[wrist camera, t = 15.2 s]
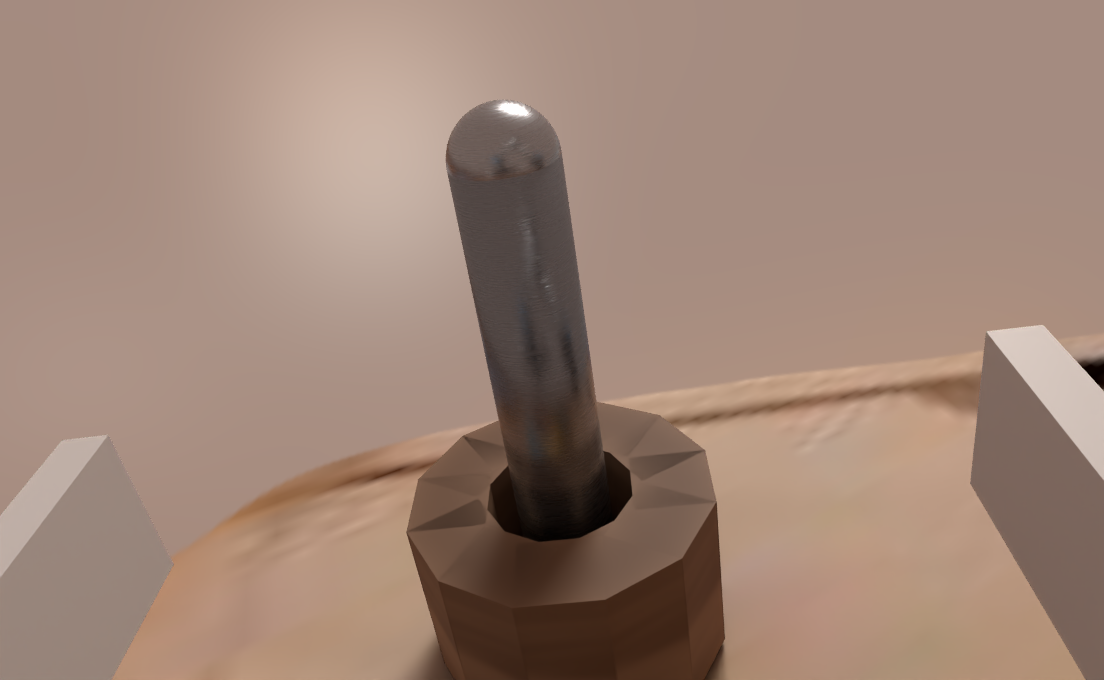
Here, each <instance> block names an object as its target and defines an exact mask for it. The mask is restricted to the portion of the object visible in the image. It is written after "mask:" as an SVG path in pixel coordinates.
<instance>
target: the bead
mask: <svg viewBox="0 0 1104 680" xmlns="http://www.w3.org/2000/svg"><path fill="white" fill-rule="evenodd" d="M597 409H598V417H599V424H600V431H601V438H602V445H603V452H604V460H605V467H606V474H607V481H608V488H609V495H610V503H611V510H612V517H613V522H611V523H609V524H607V525H605V526H603V527H601V528H599V529H597V530H595V531H593V532H591V533H589V534H587V535H585V536H583V537H581V538H576V539H566V540H555V541H544V542H537V541H534V540H530V539H527V538H524V537H523V534H522V529H521V525H520V520H519V515H518V510H517V505H516V500H515V496H514V491H513V486H512V481H511V476H510V472H509V467H508V462H507V457H506V452H505V447H504V443H503V438H502V433H501V428H500V423H499V421H496V422H494V423H492V424H489V425H487V426H485V427H483V428H480V429H478V430H476V431H473V432H471V433H469V434H466V435H464V436H462V437H461V438H460V439H459V440H458V441H457V442H456V443H455V444H454V445H453V446H452V447H451V448H450V449H449V450H448V451H447V452H446V453H445V454H444V455H443V456H442V457H441V458H440V459H439V460H438V461H437V462H436V463H435V464H434V465H433V466H432V467H431V468H430V469H429V470H427V471H426V472H425V473H424V474H423V475H422V476H421V477H420V478H419V479H418V484H417V488H416V492H415V497H414V501H413V506H412V510H411V514H410V519H409V523H408V528H407V536H408V539H409V543H410V546H411V549H412V553H413V556H414V560H415V563H416V567H417V570H418V573H419V577H420V580H421V584H422V587H423V591H424V594H425V597H426V601H427V604H428V608H429V611H430V615H431V618H432V621H433V625H434V628H435V632H436V635H437V639H438V642H439V646H440V649H441V652H442V656H443V659H444V663H445V664H446V666H447V668H448V669H449V671H450V673H451V674H452V676H453V678H454V680H704V679H705V677H706V675H707V673H708V671H709V669H710V667H711V665H712V663H713V661H714V659H715V657H716V655H717V653H718V651H719V649H720V647H721V645H722V643H723V641H724V639H725V633H724V617H723V600H722V584H721V567H720V551H719V534H718V517H717V502H716V498H715V493H714V489H713V484H712V480H711V475H710V471H709V466H708V462H707V457H706V453H705V450H704V449H703V448H701V447H700V446H699V445H698V444H696V443H695V442H694V441H692V440H691V439H690V438H688V437H687V436H686V435H685V434H683V433H682V432H681V431H679V430H678V429H677V428H675V427H674V426H673V425H672V424H670V423H669V422H668V421H666V420H665V419H664V418H662V417H661V416H660V415H656V414H651V413H647V412H642V411H637V410H633V409H628V408H623V407H619V406H614V405H609V404H605V403H600V402H597Z"/></svg>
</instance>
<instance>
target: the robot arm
mask: <svg viewBox="0 0 1104 680" xmlns="http://www.w3.org/2000/svg"><path fill="white" fill-rule="evenodd" d="M970 484H971V485H972V487H973V489H974V490H975V492H976V494H977V496H978V497H979V499H980V501H981V502H982V504H983V506H984V507H985V509H986V511H987V513H988V514H989V516H990V518H991V519H992V521H993V523H994V524H995V526H996V528H997V530H998V531H999V533H1000V535H1001V536H1002V538H1003V540H1004V541H1005V543H1006V545H1007V547H1008V548H1009V550H1010V552H1011V553H1012V555H1013V557H1014V558H1015V560H1016V562H1017V564H1018V565H1019V567H1020V569H1021V570H1022V572H1023V574H1024V575H1025V577H1026V579H1027V581H1028V582H1029V584H1030V586H1031V587H1032V589H1033V591H1034V592H1035V594H1036V596H1037V598H1038V599H1039V601H1040V603H1041V604H1042V606H1043V608H1044V609H1045V611H1046V613H1047V615H1048V616H1049V618H1050V620H1051V621H1052V623H1053V625H1054V626H1055V628H1056V630H1057V632H1058V633H1059V635H1060V637H1061V638H1062V640H1063V642H1064V643H1065V645H1066V647H1067V649H1068V650H1069V652H1070V654H1071V655H1072V657H1073V659H1074V660H1075V662H1076V664H1077V666H1078V667H1079V669H1080V671H1081V672H1082V674H1083V676H1084V678H1085V679H1086V680H1104V391H1103V390H1102V389H1101V388H1100V387H1099V386H1098V385H1097V383H1096V382H1095V381H1094V380H1093V379H1092V378H1091V377H1090V376H1089V375H1088V374H1087V372H1086V371H1085V370H1084V369H1083V368H1082V367H1081V366H1080V365H1079V364H1078V363H1077V362H1076V360H1075V359H1074V358H1073V357H1072V356H1071V355H1070V354H1069V353H1068V352H1067V351H1066V349H1065V348H1064V347H1063V346H1062V345H1061V344H1060V343H1059V342H1058V341H1057V340H1056V339H1055V337H1054V336H1053V335H1052V334H1051V333H1050V332H1049V331H1048V330H1047V329H1046V328H1045V327H1044V326H1043V325H1038V326H1030V327H1021V328H1012V329H1004V330H995V331H987V332H986V338H985V347H984V356H983V366H982V376H981V385H980V395H979V405H978V414H977V424H976V434H975V443H974V453H973V462H972V472H971V482H970ZM173 565H174V564H173V562H172V560H171V558H170V556H169V554H168V552H167V550H166V548H165V546H164V544H163V542H162V540H161V538H160V536H159V534H158V532H157V530H156V528H155V526H154V524H153V522H152V520H151V518H150V516H149V514H148V512H147V510H146V508H145V506H144V504H143V502H142V500H141V498H140V496H139V494H138V493H137V491H136V488H135V487H134V485H133V483H132V481H131V479H130V477H129V475H128V473H127V471H126V469H125V467H124V465H123V463H122V461H121V459H120V457H119V455H118V453H117V451H116V449H115V447H114V445H113V443H112V441H111V439H110V437H109V435H104V436H94V437H86V438H78V439H69V440H62V441H61V442H60V444H59V445H58V446H57V447H56V449H55V450H54V451H53V452H52V453H51V455H50V456H49V457H48V458H47V459H46V461H45V462H44V463H43V464H42V466H41V467H40V468H39V469H38V470H37V472H36V473H35V474H34V475H33V476H32V478H31V479H30V480H29V482H28V483H27V484H26V485H25V486H24V487H23V489H22V490H21V491H20V492H19V493H18V495H17V496H16V497H15V498H14V500H13V501H12V502H11V503H10V504H9V506H8V507H7V508H6V509H5V510H4V512H3V513H2V514H1V515H0V680H112V678H113V676H114V674H115V672H116V670H117V669H118V667H119V665H120V663H121V661H122V659H123V657H124V656H125V654H126V652H127V650H128V648H129V646H130V644H131V643H132V641H133V639H134V637H135V635H136V633H137V631H138V630H139V628H140V626H141V624H142V622H143V620H144V618H145V617H146V615H147V613H148V611H149V609H150V607H151V605H152V604H153V602H154V600H155V598H156V596H157V594H158V592H159V591H160V589H161V587H162V585H163V583H164V581H165V579H166V578H167V576H168V574H169V572H170V570H171V568H172V566H173Z"/></svg>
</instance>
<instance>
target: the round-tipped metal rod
mask: <svg viewBox="0 0 1104 680" xmlns="http://www.w3.org/2000/svg"><path fill="white" fill-rule="evenodd" d="M446 167H447V173H448V178H449V182H450V187H451V192H452V197H453V202H454V207H455V211H456V216H457V221H458V226H459V231H460V235H461V240H462V245H463V250H464V255H465V260H466V264H467V269H468V274H469V279H470V284H471V288H472V293H473V298H474V303H475V308H476V313H477V317H478V322H479V327H480V332H481V337H482V341H483V346H484V351H485V356H486V361H487V365H488V370H489V375H490V380H491V385H492V389H493V394H494V399H495V404H496V408H497V414H498V419H499V423H500V428H501V433H502V438H503V443H504V447H505V452H506V457H507V462H508V467H509V472H510V476H511V481H512V486H513V491H514V496H515V500H516V505H517V510H518V515H519V520H520V525H521V529H522V534H523V537H524V538H527V539H530V540H534V541H537V542H544V541H555V540H566V539H576V538H581V537H583V536H585V535H587V534H589V533H591V532H593V531H595V530H597V529H599V528H601V527H603V526H605V525H607V524H609V523H611V522H613V517H612V510H611V503H610V495H609V488H608V481H607V474H606V467H605V460H604V452H603V445H602V438H601V431H600V424H599V417H598V409H597V402H596V395H595V388H594V381H593V374H592V367H591V360H590V352H589V345H588V338H587V331H586V324H585V316H584V310H583V302H582V295H581V289H580V281H579V273H578V267H577V259H576V252H575V245H574V238H573V231H572V224H571V216H570V209H569V202H568V195H567V188H566V181H565V174H564V167H563V159H562V153H561V147H560V143H559V140H558V137H557V135H556V133H555V131H554V129H553V127H552V126H551V124H550V123H549V122H548V120H547V119H546V118H545V117H544V116H543V115H542V114H540V113H539V112H538V111H537V110H535V109H534V108H532V107H530V106H528V105H526V104H523V103H520V102H516V101H512V100H494V101H489V102H486V103H483V104H481V105H478V106H476V107H475V108H473V109H472V110H470V111H469V112H468V113H467V114H465V115H464V116H463V117H462V118H461V119H460V120H459V122H458V123H457V124H456V126H455V128H454V130H453V131H452V133H451V135H450V138H449V141H448V144H447V150H446Z"/></svg>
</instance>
